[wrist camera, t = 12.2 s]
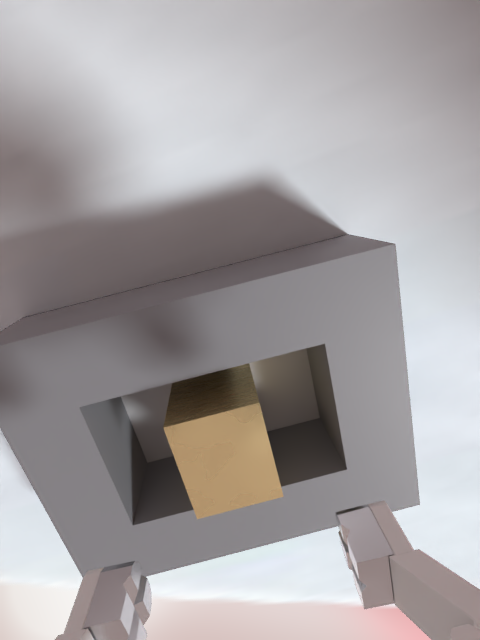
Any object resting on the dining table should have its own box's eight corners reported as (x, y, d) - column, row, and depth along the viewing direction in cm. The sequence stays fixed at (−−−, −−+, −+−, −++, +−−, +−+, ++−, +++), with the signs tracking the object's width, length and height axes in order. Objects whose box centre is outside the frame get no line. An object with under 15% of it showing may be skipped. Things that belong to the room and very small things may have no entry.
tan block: (244, 346, 20) (259, 402, 14) (263, 419, 21) (283, 496, 16) (176, 364, 20) (163, 427, 14) (200, 436, 21) (197, 519, 16)
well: (348, 234, 19) (395, 243, 14) (376, 444, 23) (419, 504, 19) (22, 317, 19) (-40, 355, 14) (114, 512, 23) (90, 591, 18)
